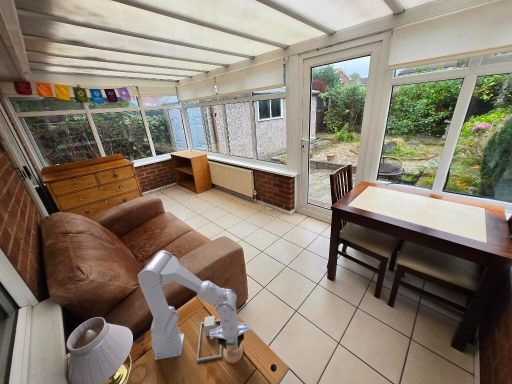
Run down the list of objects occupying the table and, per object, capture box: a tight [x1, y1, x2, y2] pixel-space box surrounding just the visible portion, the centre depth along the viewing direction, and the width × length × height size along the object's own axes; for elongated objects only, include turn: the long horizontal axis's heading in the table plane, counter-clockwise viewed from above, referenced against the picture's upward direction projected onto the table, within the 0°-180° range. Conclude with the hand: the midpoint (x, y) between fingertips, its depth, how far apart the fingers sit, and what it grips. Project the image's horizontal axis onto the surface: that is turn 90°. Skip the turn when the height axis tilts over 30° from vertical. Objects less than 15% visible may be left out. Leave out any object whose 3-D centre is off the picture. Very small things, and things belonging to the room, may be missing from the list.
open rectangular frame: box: [196, 318, 223, 363], centre depth 82 cm, size 9×14×1 cm, turn 8°
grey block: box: [203, 315, 217, 337], centre depth 85 cm, size 4×4×6 cm
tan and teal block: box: [226, 337, 239, 356], centre depth 76 cm, size 4×4×6 cm
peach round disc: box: [222, 343, 244, 364], centre depth 78 cm, size 8×8×1 cm
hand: (232, 345), depth 77 cm, fingers closed on tan and teal block, 4 cm apart
